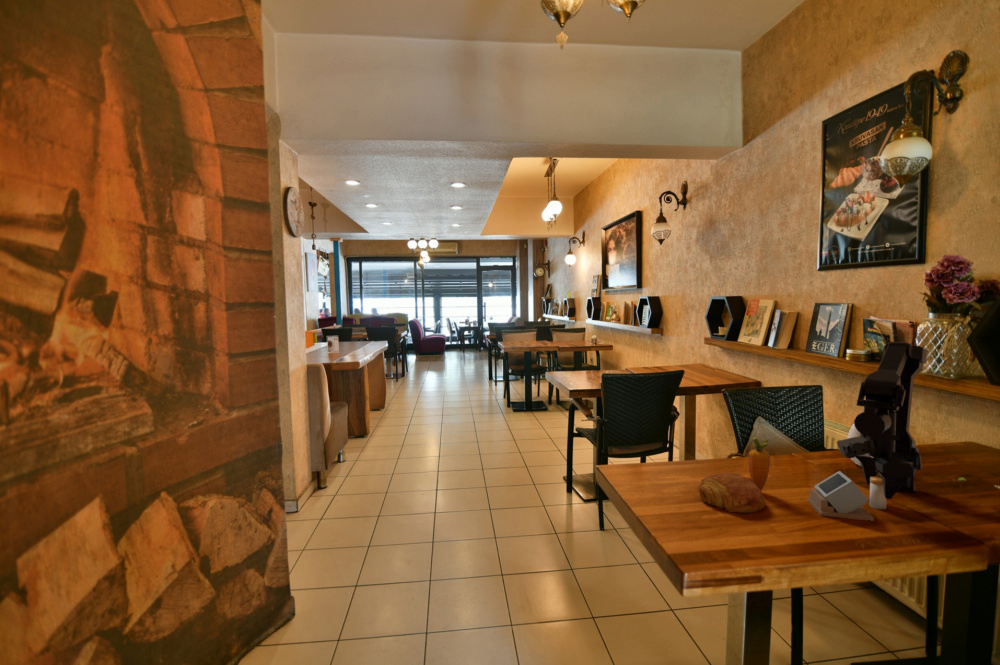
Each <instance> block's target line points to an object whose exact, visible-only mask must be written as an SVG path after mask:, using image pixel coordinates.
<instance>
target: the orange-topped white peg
mask: <svg viewBox="0 0 1000 665" xmlns="http://www.w3.org/2000/svg"><path fill="white" fill-rule="evenodd" d="M868 505H869V506H870V507H871V508H873V509H877V510H882V509H884V510H886V509H887V499H886V498H885V496H884V490H883V482H882V478H880V477H878V476H876V477H870V485H869V504H868Z"/></svg>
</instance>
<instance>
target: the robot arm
mask: <svg viewBox="0 0 1000 665" xmlns="http://www.w3.org/2000/svg"><path fill="white" fill-rule="evenodd" d="M882 349H883V350H882V358H881V361H880V363H879V365H878V367H877V370H876V371H873V372H870V373H869V374H868V375H867V376H866V378H865V379H864V381H862V382H861V383H860V388H859V391H858V392H859V393H858V396H857V400H856V406H859V407H863V409H864V412H863V411H862V412H861V413H858V414H857V415H856V417H855V418H854V420H853V422H854V423H853V424H854V425H855V427H856V429H857V430H858V431H859V432H860V437H853V438H849V439H847V438H845V439H841V440H837V441H836V445H837V448H838V449H839V452H840V455H843V456H844V457H845V458H847V459H851V458H854V457H855V458H856V459H858V460H859V461H860V464H861V466H860V467H861V469H862V473H863V476H864V480H865V482H866V485H867V486H868V485H869V486H870V477H880V478H882V482H883V490H884V496H885V498H886V500H892V498H893V497H894V496H895V494H896V493H897V492H898V491H899V492H908V493H909V492H911V493H918V490H917V489H916V488H914V484H915V476H916V471H921V470H922V457H921V453H920V452H919V448H918V447H916V440H915V439H914V437H913V435H912V434H911V432H910V421H911V412H912V401H913V400H912V399H913V389H914V379H915V378H916V377H917V376H918V375H919V374H920V373H921V372H922V371H923V368H924V364H926V363H927V356H928V355H927V354H928V353H927V350H926V348H924V347H923V346H920V345H914V344H912V343H911V342H908V341H907V342H906V341H905V342H904V341H903V342H902V341H889V342H886V343H885V345H883V348H882ZM877 475H878V476H877Z"/></svg>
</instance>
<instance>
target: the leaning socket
mask: <svg viewBox="0 0 1000 665" xmlns="http://www.w3.org/2000/svg"><path fill="white" fill-rule="evenodd" d="M807 501H809V502H808V503H809V504H810V505H811V506H812V508H814V510H815V511H816V512H817V513H818V515H820V516H822V517H829V518H830V517H832V518H839V519H840V518H841V519H848V520H849V519H850V520H857V521H858V520H860V521H868V520H870V522H874V521H875V518H874V516H873V515H871V514H870V513H869V512H868V511H867V510H866V509H865V508H864V507H863V506H864V505H866V504H868V502H870V498H868V497H867V496H866V495H865V493H863V491H862V490H861V489H860V488H859V487H858V486H857V485H856V484H855V483H854V481H853V480H851V479H850V478H849V477H848V476H847V475H845V474H844V473H842V471H840V470H839V471H837V472H835V473H833V474H831V475H830V476H828V477H827V478H825V479H824V480H822V481H820V482H819V483H818V484H815V485H814V488H810V494H809V497H807Z"/></svg>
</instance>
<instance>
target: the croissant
mask: <svg viewBox="0 0 1000 665" xmlns="http://www.w3.org/2000/svg"><path fill="white" fill-rule="evenodd" d="M698 493H699V496H700V498H701V500H702V501H703V502H704V503H706V504H708V505H712V506H713V507H717V508H719V509H723V510H724V511H727V512H728V513H739V514H740V513H741V514H742V513H743V514H745V513H756V512H758V511H761V510H762V509H764V508H765V507H766V505H767V502H766V501H767V500H766V498H765V496H764V494H763V492H762V490H760V489H759V488H758V487H757V486H756V485H755V484H754V483H753V481H752V480H751V478H749V477H746V476H745V475H743V474H741V473H736V472H722V473H715V474H711V475H708V476H705V477H704V478H703V479H701V482H700V484H699V487H698Z"/></svg>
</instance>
